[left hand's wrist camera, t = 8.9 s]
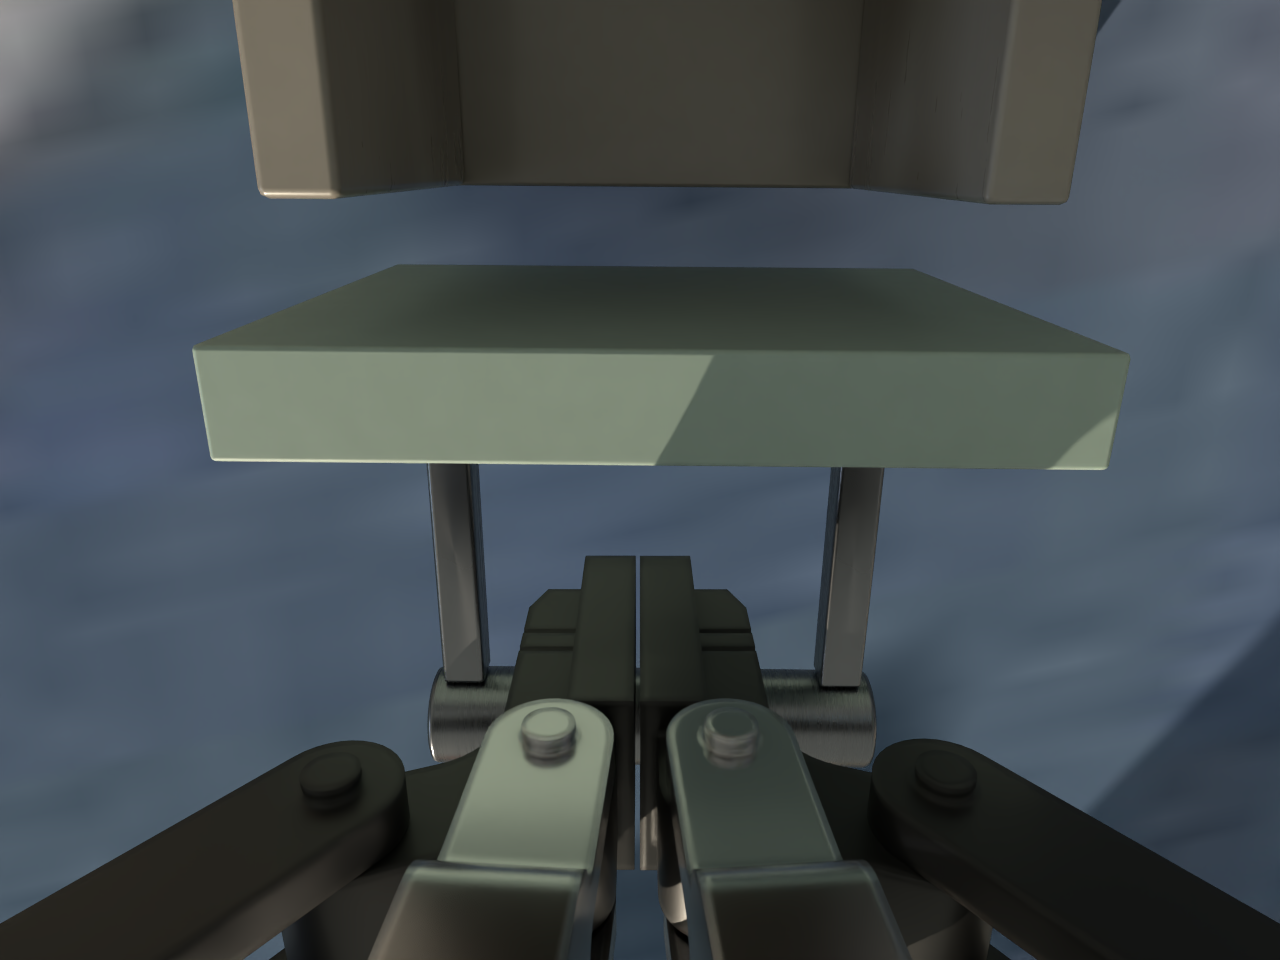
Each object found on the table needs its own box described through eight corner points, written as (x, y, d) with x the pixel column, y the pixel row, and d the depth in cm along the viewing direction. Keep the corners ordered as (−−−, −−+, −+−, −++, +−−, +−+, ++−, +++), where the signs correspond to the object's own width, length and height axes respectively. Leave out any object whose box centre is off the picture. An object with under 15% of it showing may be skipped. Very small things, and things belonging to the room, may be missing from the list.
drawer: (875, 619, 17) (1020, 909, 11) (425, 613, 18) (284, 899, 11) (1034, -784, 11) (1701, -2423, 4) (304, -784, 11) (-285, -2406, 4)
